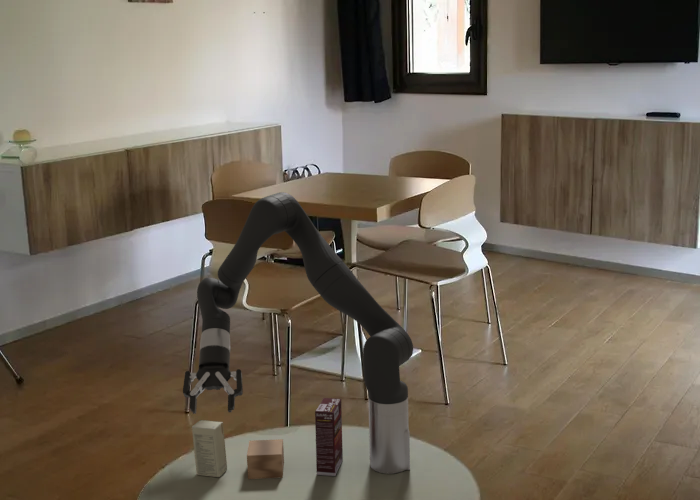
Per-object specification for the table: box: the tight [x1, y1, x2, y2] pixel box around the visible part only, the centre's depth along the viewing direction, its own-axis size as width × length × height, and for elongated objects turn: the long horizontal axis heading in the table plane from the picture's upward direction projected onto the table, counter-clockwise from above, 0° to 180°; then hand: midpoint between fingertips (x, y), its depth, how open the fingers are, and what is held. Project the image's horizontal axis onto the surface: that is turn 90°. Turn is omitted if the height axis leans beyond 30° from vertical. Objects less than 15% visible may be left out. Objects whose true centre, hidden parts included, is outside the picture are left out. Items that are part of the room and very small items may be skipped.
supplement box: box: [314, 397, 344, 477], centre depth 205 cm, size 9×5×16 cm, turn 168°
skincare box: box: [191, 419, 228, 478], centre depth 205 cm, size 6×4×12 cm
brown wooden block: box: [246, 438, 285, 480], centre depth 206 cm, size 8×8×6 cm
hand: (211, 411), depth 210 cm, fingers open, 8 cm apart
